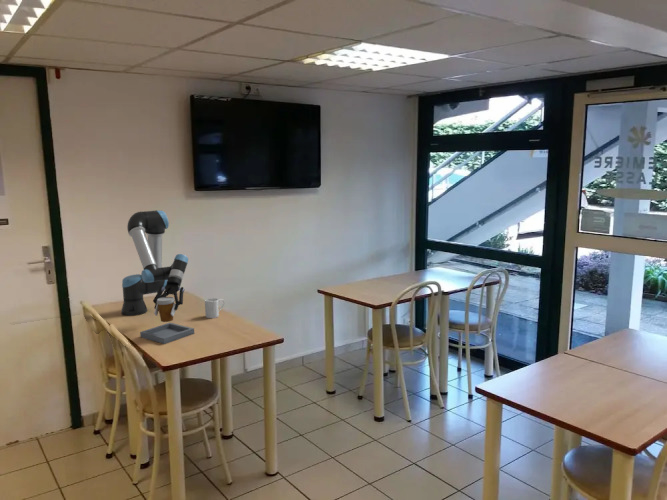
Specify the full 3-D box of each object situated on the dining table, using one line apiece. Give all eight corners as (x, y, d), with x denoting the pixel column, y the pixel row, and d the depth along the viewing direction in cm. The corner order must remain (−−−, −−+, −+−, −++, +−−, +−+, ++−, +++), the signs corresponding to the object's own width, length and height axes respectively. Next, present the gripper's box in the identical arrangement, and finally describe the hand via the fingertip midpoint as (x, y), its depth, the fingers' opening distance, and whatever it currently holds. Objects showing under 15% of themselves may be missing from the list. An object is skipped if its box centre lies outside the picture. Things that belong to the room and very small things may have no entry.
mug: (208, 319, 318) (207, 302, 317) (203, 316, 325) (202, 299, 323) (227, 315, 325) (226, 299, 324) (222, 312, 332) (221, 296, 330)
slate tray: (140, 337, 287) (140, 332, 286) (170, 327, 303) (170, 322, 302) (164, 344, 276) (164, 338, 275) (194, 333, 292) (194, 328, 291)
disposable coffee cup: (178, 317, 292) (177, 296, 290) (172, 323, 282) (170, 301, 280) (162, 317, 293) (160, 296, 291) (154, 322, 283) (153, 301, 281)
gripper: (195, 283, 298) (185, 318, 285) (159, 282, 301) (147, 317, 288) (191, 276, 292) (180, 312, 279) (154, 275, 295) (142, 310, 282)
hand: (163, 314), depth 284 cm, fingers closed on disposable coffee cup, 9 cm apart
